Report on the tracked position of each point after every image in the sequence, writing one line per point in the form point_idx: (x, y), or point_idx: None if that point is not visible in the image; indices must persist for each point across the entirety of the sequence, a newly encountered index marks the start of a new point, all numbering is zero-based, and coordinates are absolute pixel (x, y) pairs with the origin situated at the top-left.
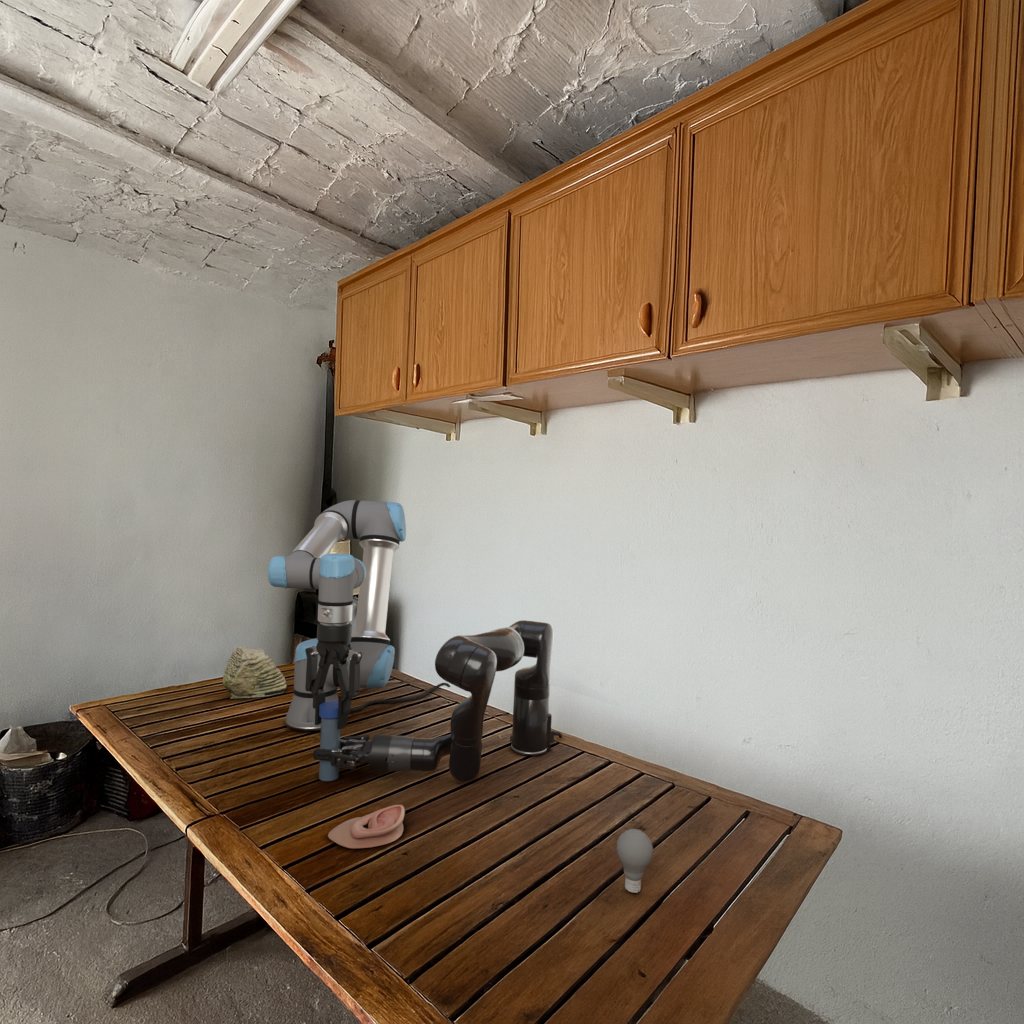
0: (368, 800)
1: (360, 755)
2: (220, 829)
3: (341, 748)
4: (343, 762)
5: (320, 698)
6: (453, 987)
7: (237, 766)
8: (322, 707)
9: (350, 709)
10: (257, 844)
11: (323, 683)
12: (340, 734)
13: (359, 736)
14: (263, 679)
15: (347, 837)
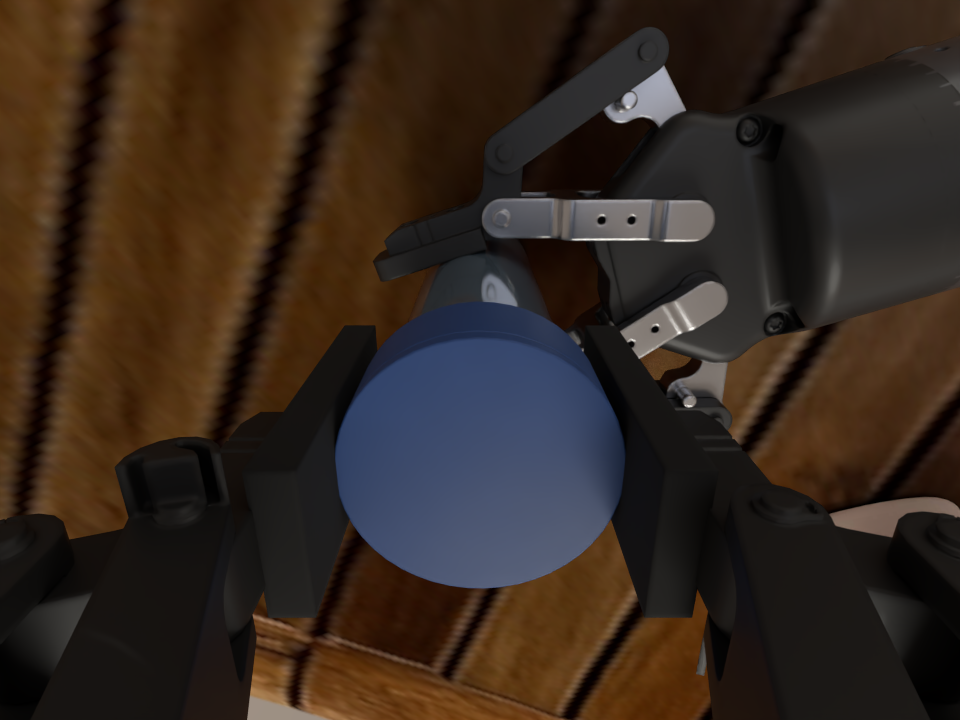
0: (761, 393)
1: (733, 359)
2: (393, 693)
3: None
4: None
5: (321, 551)
6: None
7: (14, 346)
8: (437, 574)
9: (723, 430)
10: (547, 710)
11: (212, 656)
12: (549, 315)
13: (593, 83)
14: None
15: None
